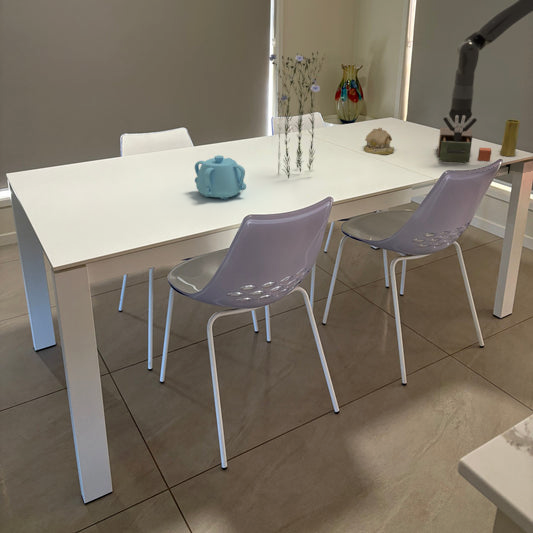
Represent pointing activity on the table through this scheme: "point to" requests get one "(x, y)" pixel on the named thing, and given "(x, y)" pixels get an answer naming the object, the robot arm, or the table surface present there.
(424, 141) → the table surface
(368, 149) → the ceramic model
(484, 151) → the block
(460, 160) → the drawer
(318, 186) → the table surface
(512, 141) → the vase
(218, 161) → the decorative pot
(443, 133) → the cabinet
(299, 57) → the wildflower
